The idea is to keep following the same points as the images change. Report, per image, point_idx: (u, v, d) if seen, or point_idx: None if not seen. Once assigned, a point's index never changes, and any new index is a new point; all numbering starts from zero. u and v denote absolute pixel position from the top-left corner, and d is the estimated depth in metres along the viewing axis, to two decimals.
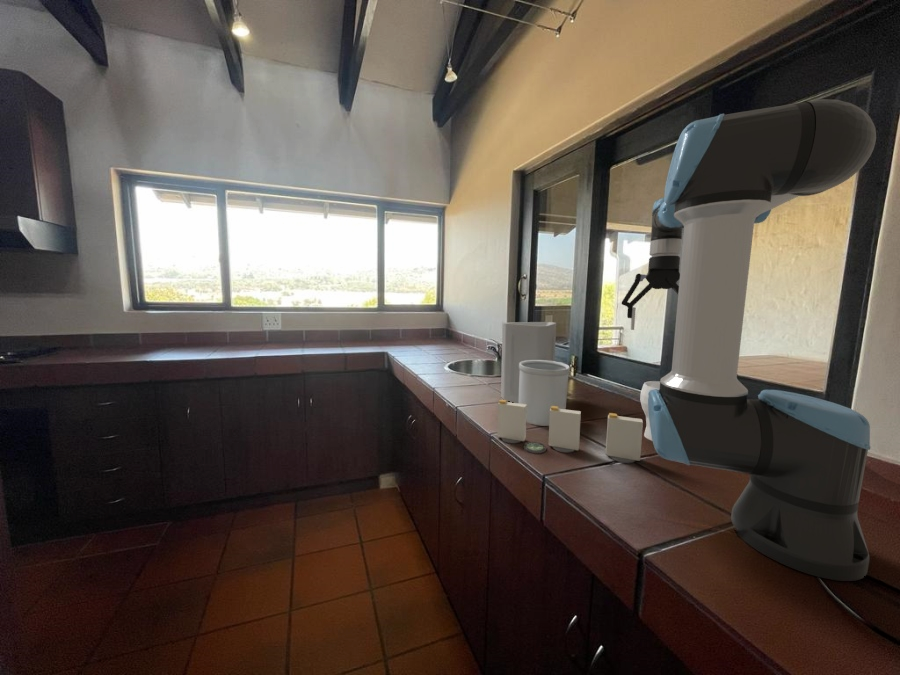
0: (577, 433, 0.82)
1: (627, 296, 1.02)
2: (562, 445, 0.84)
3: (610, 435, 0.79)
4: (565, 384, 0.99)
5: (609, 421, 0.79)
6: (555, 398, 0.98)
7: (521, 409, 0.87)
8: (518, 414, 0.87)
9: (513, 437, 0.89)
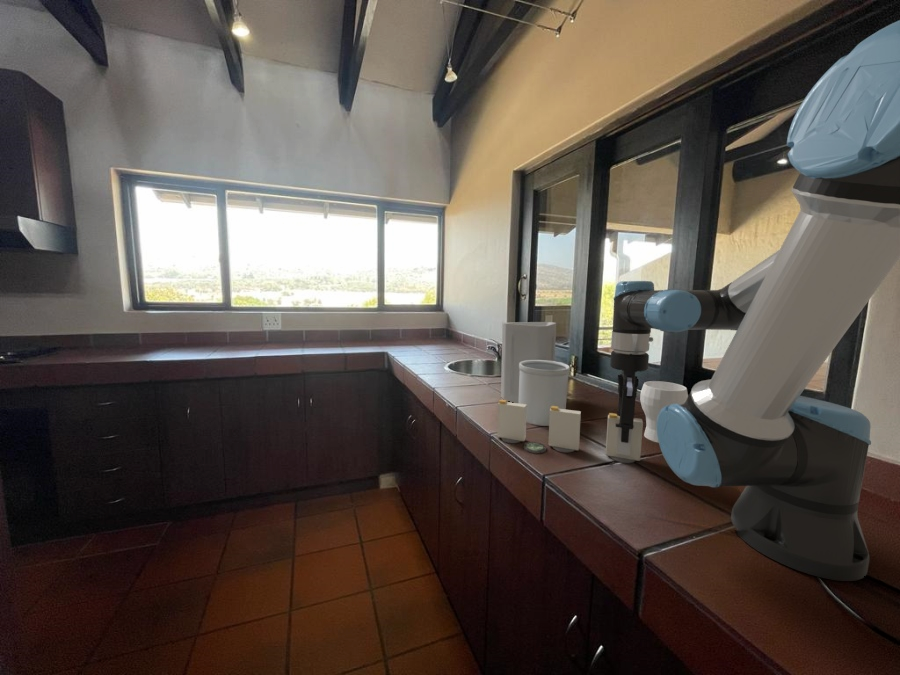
0: (577, 433, 0.82)
1: (618, 403, 0.83)
2: (562, 445, 0.84)
3: (610, 435, 0.79)
4: (565, 384, 0.99)
5: (609, 421, 0.79)
6: (555, 398, 0.98)
7: (521, 409, 0.87)
8: (518, 414, 0.87)
9: (513, 437, 0.89)
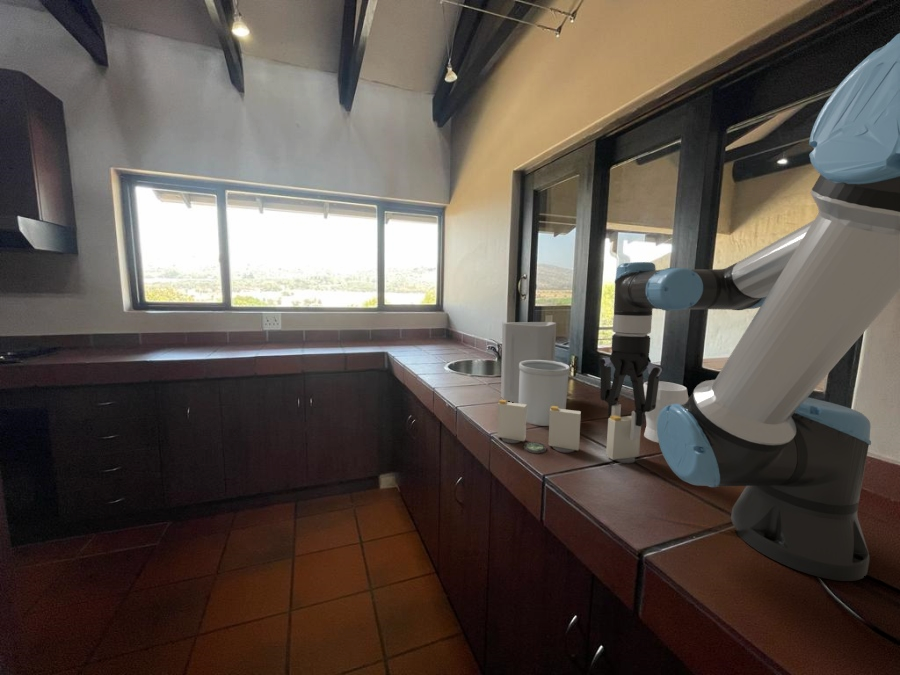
0: (577, 433, 0.82)
1: (602, 389, 0.81)
2: (562, 445, 0.84)
3: (616, 438, 0.77)
4: (565, 384, 0.99)
5: (615, 424, 0.77)
6: (555, 398, 0.98)
7: (521, 409, 0.87)
8: (518, 414, 0.87)
9: (513, 437, 0.89)
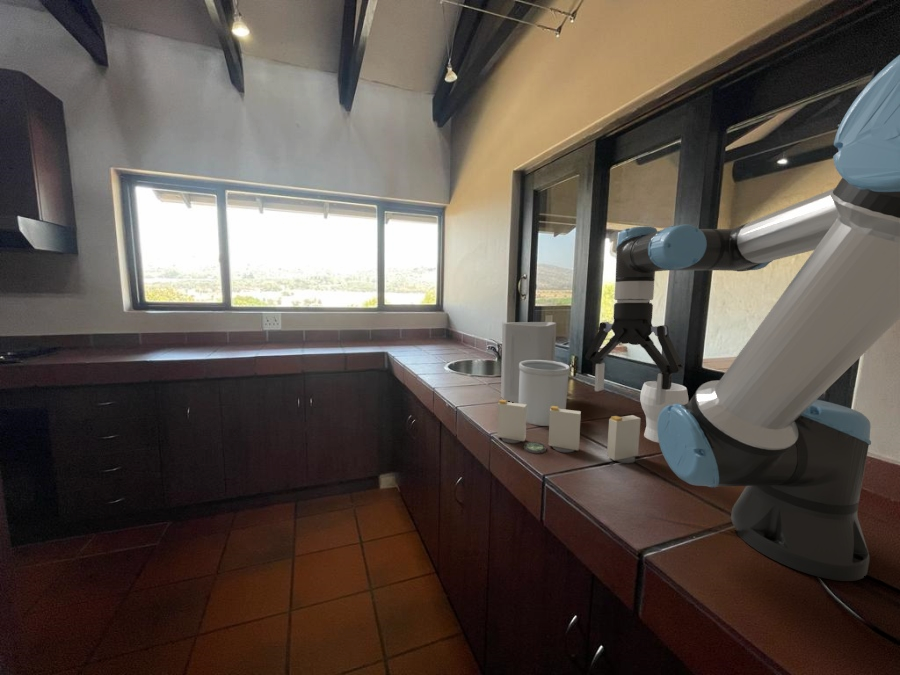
0: (577, 433, 0.82)
1: (590, 349, 0.83)
2: (562, 445, 0.84)
3: (617, 439, 0.77)
4: (565, 384, 0.99)
5: (617, 425, 0.77)
6: (555, 398, 0.98)
7: (521, 409, 0.87)
8: (518, 414, 0.87)
9: (513, 437, 0.89)
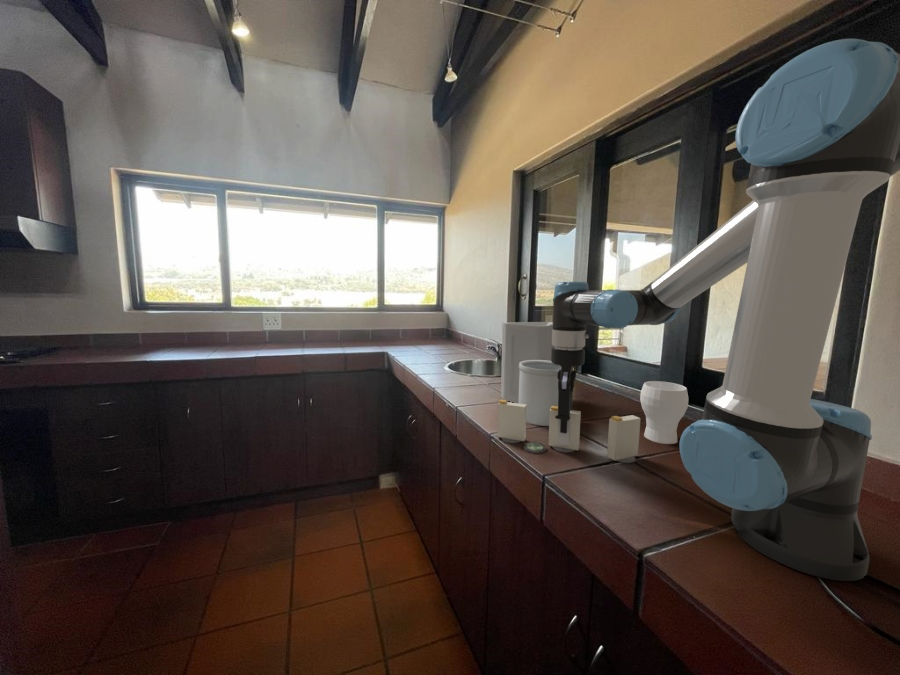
0: (577, 433, 0.82)
1: None
2: (562, 445, 0.84)
3: (618, 439, 0.77)
4: None
5: (617, 425, 0.77)
6: (555, 398, 0.98)
7: (521, 409, 0.87)
8: (518, 414, 0.87)
9: (513, 437, 0.89)
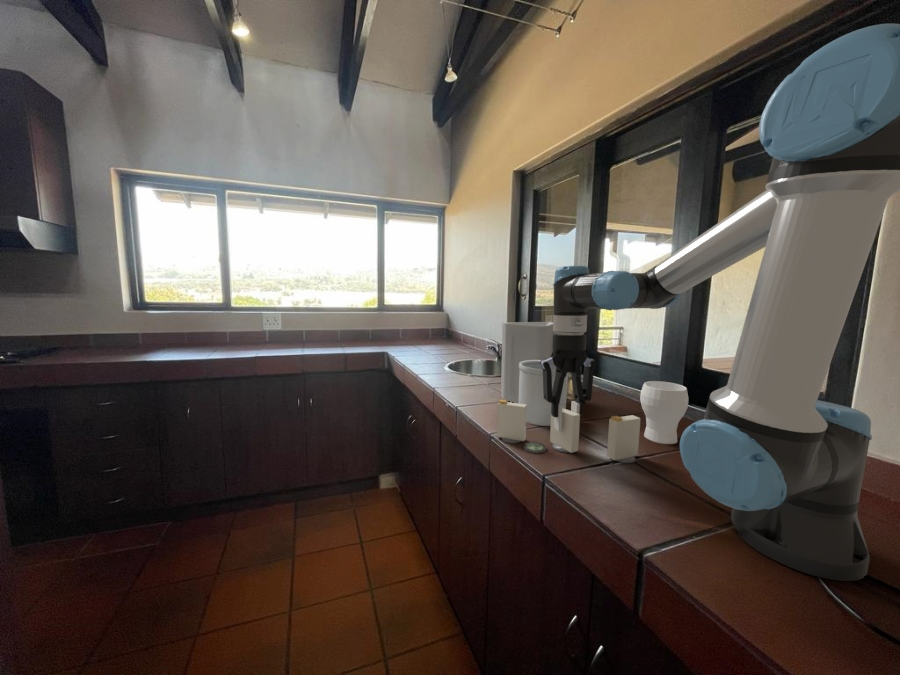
0: (570, 435, 0.81)
1: None
2: (559, 444, 0.84)
3: (618, 439, 0.77)
4: (565, 384, 0.99)
5: (617, 425, 0.77)
6: None
7: (521, 409, 0.87)
8: (518, 414, 0.87)
9: (513, 437, 0.89)
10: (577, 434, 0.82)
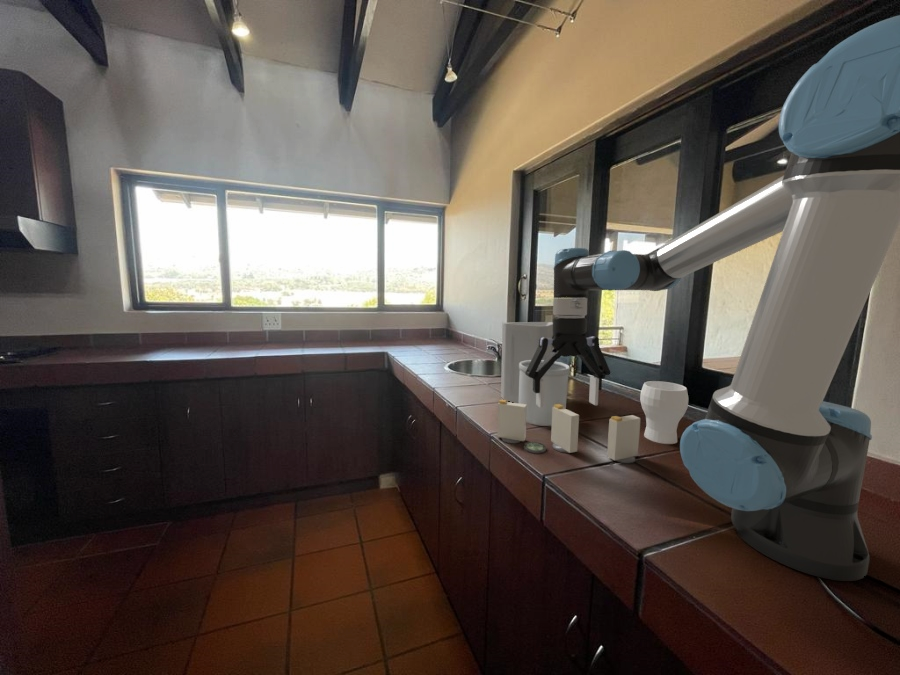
0: (569, 435, 0.81)
1: None
2: (559, 444, 0.85)
3: (618, 439, 0.77)
4: (565, 384, 0.99)
5: (617, 425, 0.77)
6: (555, 398, 0.98)
7: (521, 409, 0.87)
8: (518, 414, 0.87)
9: (513, 437, 0.89)
10: (576, 434, 0.81)
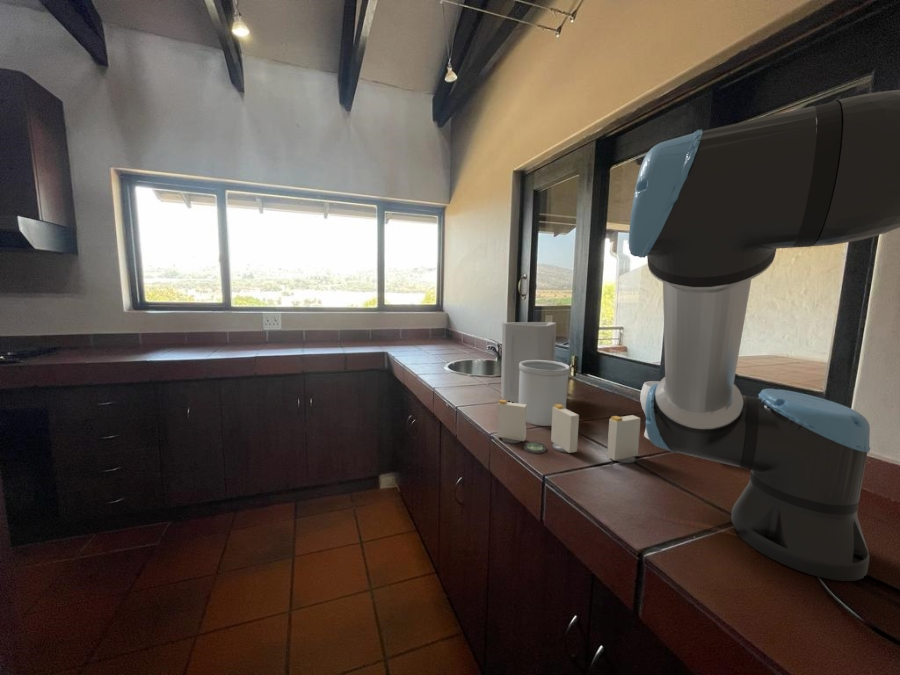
0: (569, 435, 0.81)
1: None
2: (559, 444, 0.85)
3: (618, 439, 0.77)
4: (565, 384, 0.99)
5: (617, 425, 0.77)
6: (555, 398, 0.98)
7: (521, 409, 0.87)
8: (518, 414, 0.87)
9: (513, 437, 0.89)
10: (576, 434, 0.81)
